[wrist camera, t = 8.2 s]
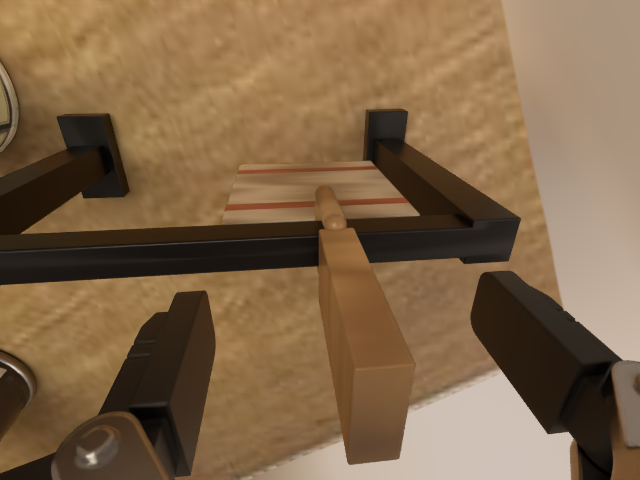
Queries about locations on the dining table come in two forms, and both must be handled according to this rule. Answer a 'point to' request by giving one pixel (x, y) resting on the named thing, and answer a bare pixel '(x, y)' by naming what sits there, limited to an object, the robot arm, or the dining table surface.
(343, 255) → the brown flat handled piece
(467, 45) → the dining table surface
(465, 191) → the rail
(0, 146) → the coffee can
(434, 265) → the dining table surface
